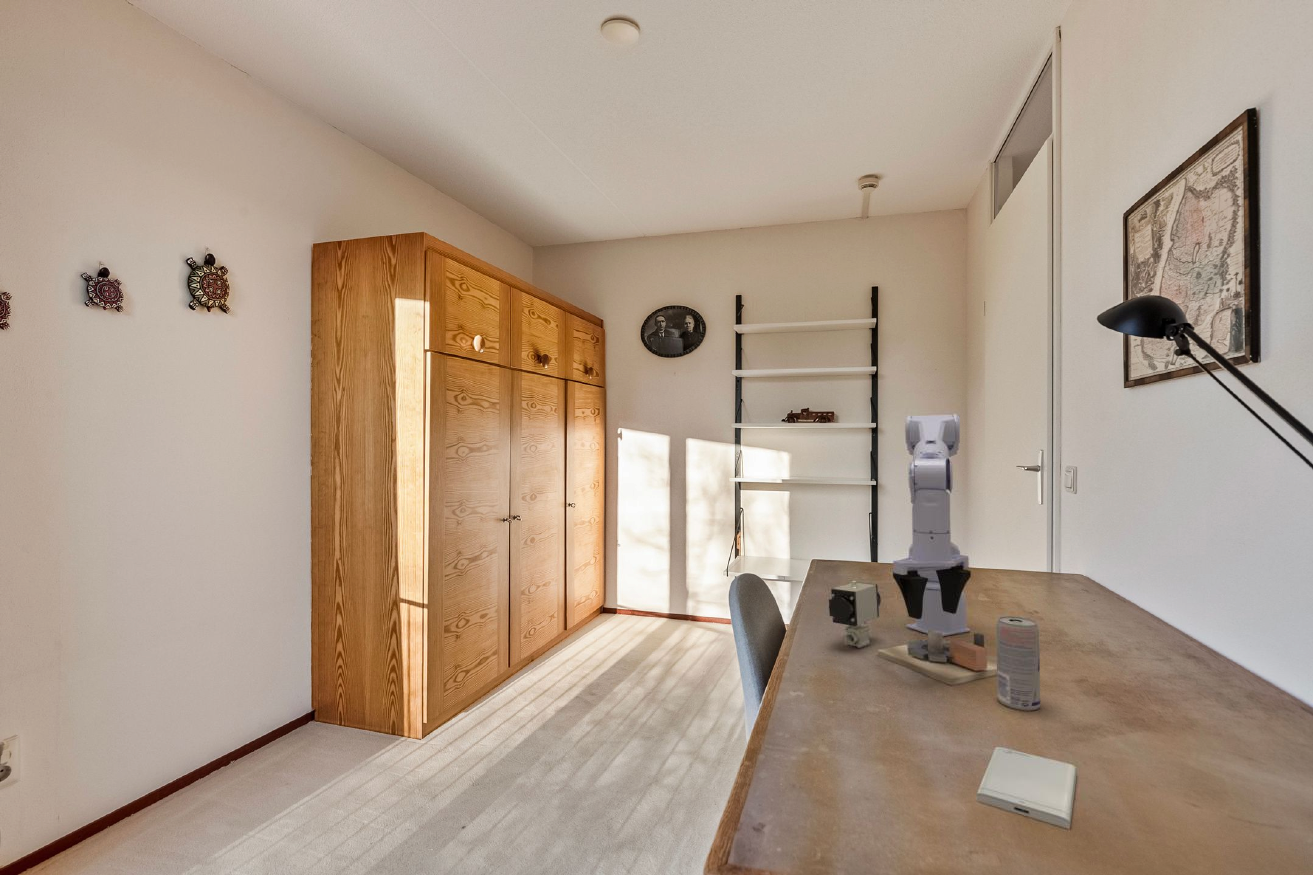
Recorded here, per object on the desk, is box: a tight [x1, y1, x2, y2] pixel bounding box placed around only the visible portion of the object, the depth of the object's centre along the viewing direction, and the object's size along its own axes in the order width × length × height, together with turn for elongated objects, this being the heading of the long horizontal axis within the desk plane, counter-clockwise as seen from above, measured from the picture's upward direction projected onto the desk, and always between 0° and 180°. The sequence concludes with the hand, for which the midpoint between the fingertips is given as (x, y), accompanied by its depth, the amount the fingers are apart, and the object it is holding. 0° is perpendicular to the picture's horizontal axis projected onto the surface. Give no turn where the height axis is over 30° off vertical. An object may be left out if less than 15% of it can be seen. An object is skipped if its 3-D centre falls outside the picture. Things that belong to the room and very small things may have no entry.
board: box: [876, 630, 997, 686], centre depth 107 cm, size 15×16×5 cm
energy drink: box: [995, 615, 1041, 712], centre depth 90 cm, size 5×5×12 cm
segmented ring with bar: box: [906, 639, 988, 671], centre depth 106 cm, size 14×9×3 cm, turn 25°
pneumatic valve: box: [828, 580, 882, 649], centre depth 117 cm, size 6×12×12 cm, turn 133°
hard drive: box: [976, 746, 1078, 830], centre depth 68 cm, size 2×8×12 cm
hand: (932, 614), depth 101 cm, fingers open, 7 cm apart
